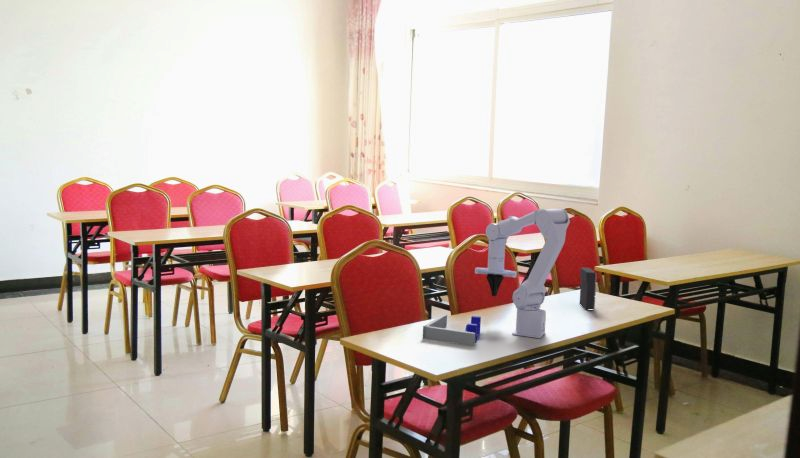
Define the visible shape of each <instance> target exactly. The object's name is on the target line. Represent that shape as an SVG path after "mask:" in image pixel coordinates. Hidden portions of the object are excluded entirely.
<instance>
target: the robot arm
mask: <svg viewBox="0 0 800 458" xmlns="http://www.w3.org/2000/svg"><path fill="white" fill-rule="evenodd" d="M570 223H571V221H570V217H569V214H568V212H567V211H566V209H564V208H562V207H559V208H548V209H547V208H540V209H538V210H534V211H532V212H530V213H527V214H525V215H523V216H521V217H517V216H513V215H509V216H507V218H506V219H504V220H502V219H501V220H498V222H497V223H494V222H490V224H488V225H487V226H486V228H485V236H486V237H487V239H488V253H487V267H475V268H474V274H475V275H477V274H479V275H480V274H481V275H486V280H487V282H488V284H489V289H490V293H491V297H497V296H498V292H499V289H500V288H501V287H500V286H501V284H502V282H503V280H504V278H505V277H506V278H507V277H508V278H515V279H516V278H517V271H515V270H509V269H505V257H506V256H505V254H506V244H507V243H508V239H509V237H510V236H514V235H516V234H519V233H521V232H522V230H523V228H525V227H529V226H533V225H536V227H537V228H538V230H539V231H540V233H541V235H542V238H544V239H545V242H544V244H543V246H542V248H541V249H540V250H541V251H540V253H539V254H538V256H537V258H536V261H535V263H534V265H533V267H532V269H531V271H530V273H529V275H528V278H527V279H526V280H524V281H523V282H522V283H520V284H519V286H518V288H517V289H516V290H514V291H513V293H512V302H513V305H514V306H515V308H516V318H515V319H516V322H515V324H516V325H515V330H514V331H513V332H511V334H512V335H514V336H521V337H529V338H537V339H540V338H541V337H543V336H544V335H545V334H546V319H547V317H546V314H547V313H546V310H545V309H541V307H542V305H543V303H544V302H545V298H546V297H545V295H546V292H547V288H546V286H545V283H546V282H547V279H548V277H549V275H550V273H551V271H552V269H553V266H554V265H555V263H556V261H557V259H558V257H559V254H560V253H561V251H562V249H563V246H564V244H565V243H566V242H565V241H566V236H567V229H568V227H569V225H570Z"/></svg>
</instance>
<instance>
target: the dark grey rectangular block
mask: <svg viewBox="0 0 800 458" xmlns="http://www.w3.org/2000/svg"><path fill="white" fill-rule="evenodd" d="M579 278H580V289H579V290H580V293H579V305H580V304H581V305H582V306H583V307H584V308H585V309H593V310H595V308H596V307H595V306H596V294H597V283H596V282H597V272H596V271H594V270H593V269H592V268H590V267H580V271H579ZM581 305H580V306H581ZM582 306H581V307H582ZM583 307H582V308H583ZM584 308H583V309H584ZM585 309H584V310H585Z"/></svg>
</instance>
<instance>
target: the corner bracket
mask: <svg viewBox="0 0 800 458" xmlns="http://www.w3.org/2000/svg"><path fill="white" fill-rule="evenodd" d="M447 321H448V314H445V313H444V314H442V315H440V316H438V317H437V318H435V319H433V320H432V321H430V322H428V323H426V324H425V325H423V326H422V340H429V341H437V342H444V343H451V344H457V345H463V346H469V347H475V345H476V343H475V333H473V332H466V331H465V330H460V329H459V330H458V329H450V328H446V327H447V324H448V322H447Z"/></svg>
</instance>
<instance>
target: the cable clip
mask: <svg viewBox="0 0 800 458" xmlns="http://www.w3.org/2000/svg"><path fill="white" fill-rule="evenodd" d="M470 317H471V319H470V322H469V323H467V324H466V325H465V329H464V331H466V332H473V333H475V344H476V343H477V341H478V340H479V336H480V335H481V325H482V324H481V322H482V317H481V316H479V315H471V316H470Z"/></svg>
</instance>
